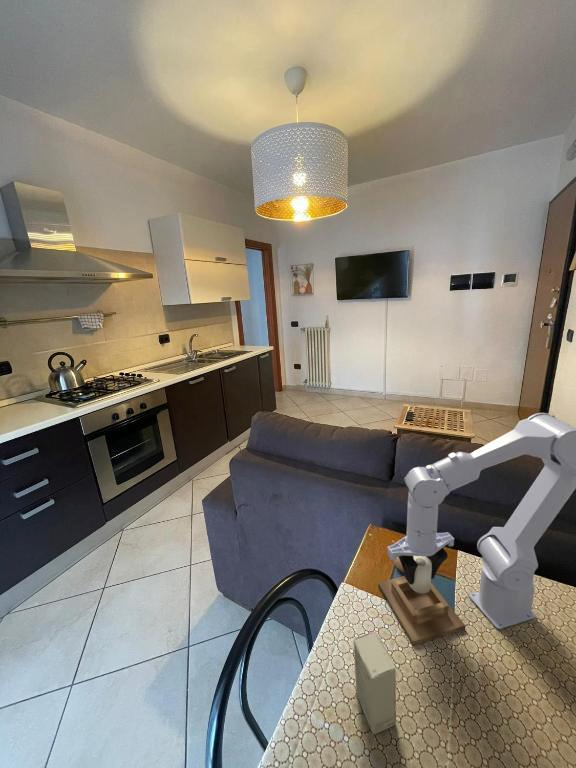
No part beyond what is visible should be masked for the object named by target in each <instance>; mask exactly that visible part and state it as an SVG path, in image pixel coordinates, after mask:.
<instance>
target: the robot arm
mask: <svg viewBox="0 0 576 768" xmlns="http://www.w3.org/2000/svg"><path fill="white" fill-rule="evenodd" d="M523 455H526V456H531V457H535V458H537V459H538V458H539V459H541V460H542V462H543V465H544V466H543V468H542V469H541V471H540V473H539V474H538V475H537V477H536V479H535V480H534V481H533V483H532V484H531V486H530V488H529V489H528V490H527V492H526V494H525V495H524V497H523V498H522V499H521V500H520V502H519V504H518V506H517V507H516V508H515V510H514V511H513V513H512V514H511V516H510V518H508V520H507V522H506V523H505V524H504V526H493V527H491V529H490V530H489V531H488V532H487V533H486V534H484V535H482V536H481V537H480V538H479V539H478V541H477V544H476V547H477V551H478V552H479V554H480V555H481V558H482V559H481V562H482V564H481V571H480V572H481V573H480V582H479V588H478V589H479V590H478V591H476V592H472V593H469V594H468V598H470V601H472V602H473V603H474V604H475V605H476V606H477V608H478V609H479V610H480V612H482V614H483V615H484V616H485V617H486V618H487V619H488V620H489V621H490V623H491V624H492V625H493V626H494V627H495V629H496V630H497V629H498V630H501V629H502V630H503V629H504V628H507V627H510V626H511V627H512V626H514V625H518V624H521V623H524V622H527V621H530V620H533V619H536V615H535V614H534V613H533V612H532V608H533V603H534V596H535V586H534V583H533V581H534V576H535V571H536V570H537V569H538V567H539V562H538V560H537V555H536V552H535V547H536V545H537V543H538V542H539V540H540V539H541V538H542V536H543V535H544V534H545V532H546V531H547V529H548V527H550V525H551V524H552V522H553V521H554V520H555V518H556V517H557V515H558V514H559V513H560V511H561V510H562V509H563V507H564V505H565V504H566V503H567V501H568V500H569V499H570V497H571V496H572V494H573V492H574V491H575V490H576V427H575V426H573V425H570V424H568V423H567V422H565V421H562V420H560V419H558V418H555V417H554V416H553V415H551V414H549V413H548V412H547V413H546V412H538V413H534V414H532V415H530V416H529V417H528V418H524V419H521V420H519V421H518V423H517V424H516V426H515V427H514V429H512V430H510V431H508V432H506V433H505V434H503V435H501V436H499V437H498V438H495V439H494V440H492V441H490V442H488V443H486V444H484V445H483V446H481V447H479V448H478V449H475V450H474V451H473V452H470V453H468V452H464V451H457V452H454V451H453V452H451V453H449V454H448V455H447V457H445V458H442V459H441V460H438V461H436V462H434V463H432V464H428V465H426V466H417V467H413V468H411V470H409V471H408V473H407V474H406V476H405V477H404V479H403V481H404V483H405V486H406V487H407V488H408V497H407V513H406V514H407V515H406V516H407V517H406V518H407V519H406V535H405V536H404V537H402V538H401V539H399V540H398V541H396V542H395V543H393V544H391V545H389V546H387V547H386V549H387V550H386V551H387V552H386V554H387V556H388V557H389V559H390V560H391V562H394V560H396V557H399V559H400V561H401V564H402V567H403V570H404V572H403V573H404V576H405V578H406V580H407V581H408V582H409V584H410V585H411V584H413V583H414V575H415V571H416V568H417V566H418V564H417V563H416V561H415V560H414V557H413V556H426V557H427V558H428V559H429V560H430V561H431V563H432V571H431V580H433V579H435V577H436V574H437V573H438V570H439V568H440V567H441V565H442V564H443V563H444V562H445V561H446V560H447V559H448V552H447V551H446V550H445V549H444V547H445V546H448V547H449V548H450V547H454V545H455V537H453V535H452V534H451V533H450V532H448V531H447V532H438V521H439V520H438V518H439V505H441V503H442V502H444V500H445V498H446V496H448V495H449V494H450V493H451V491H454V490H456V489H458V488H460V487H463V486H465V485H468V484H470V483H472V482H474V481H477V480H478V479H479V477H480V474H481V471H483V470H486V469H488V468H490V467H493V466H496V465H498V464H501V463H503V462H507V461H509V460H513V459H515V458H517V457H520V456H523Z"/></svg>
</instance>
